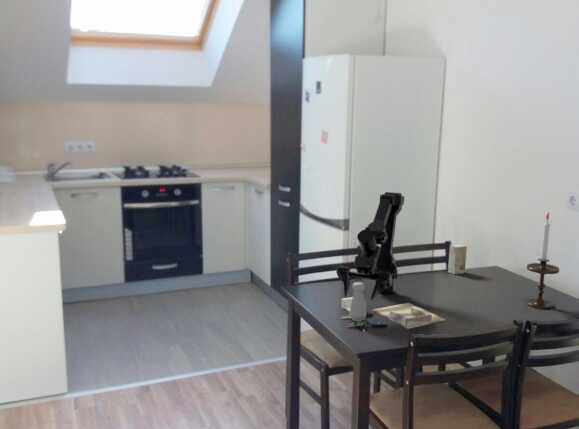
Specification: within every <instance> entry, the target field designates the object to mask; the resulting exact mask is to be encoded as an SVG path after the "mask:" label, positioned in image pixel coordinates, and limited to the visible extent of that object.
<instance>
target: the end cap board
mask: <svg viewBox="0 0 579 429" xmlns="http://www.w3.org/2000/svg"><path fill="white" fill-rule="evenodd" d="M372 312H374V313H377V315H381V316H382V317H384V318H385V319H388V320H389V321H392V322H393V323H395V324H398V325H399V326H401V327H403V328H405V329H414V328H418V327H423V326H427V325H433V324H437V323H442V322H446V319H445V318H443V317H441V316H438V315H437V314H435V313H432V312H430V311H428V310H426V309H423V308H421V307H419V306H417V305H415V304H413V303H410V302H405V303H400V304H395V305H389V306H384V307H379V308H374V309H373V310H372Z"/></svg>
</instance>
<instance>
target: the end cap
mask: <svg viewBox="0 0 579 429" xmlns="http://www.w3.org/2000/svg"><path fill="white" fill-rule="evenodd" d="M352 298H353V296H351V297H343V298H341V301H340V307H341V308H342V309H344V310H345V309H346V310H345V311H347V312H350V308H351V303H352ZM365 306H366V307H367V302H366V301H365Z"/></svg>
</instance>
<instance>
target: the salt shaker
mask: <svg viewBox="0 0 579 429" xmlns="http://www.w3.org/2000/svg"><path fill="white" fill-rule="evenodd" d="M352 290H353V293H352V297H353V298H352V303H351V308H350V312H349V311H348V312H349V317H350V319H352V320H351V321H353V322H354V321H362V320H364V321H365V320H366V317H367V305H366V306H365V302H366V300H365V295H364V294H365V293H364V291H365V290H366V284H365V283H364V282H361V281H357V282H353V283H352ZM362 322H363V321H362Z"/></svg>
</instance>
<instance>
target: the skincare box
mask: <svg viewBox="0 0 579 429" xmlns="http://www.w3.org/2000/svg"><path fill="white" fill-rule="evenodd" d="M467 247H468V246H467V245H464V244H460V243H459V244H451V245H449V251H448V252H449V253H448V254H449V255H448V266H447V272H448V273H450V274H452V275H459V274H465V273H466V272H465V271H466V264H467V263H466V260H467V250H468V249H467Z"/></svg>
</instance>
